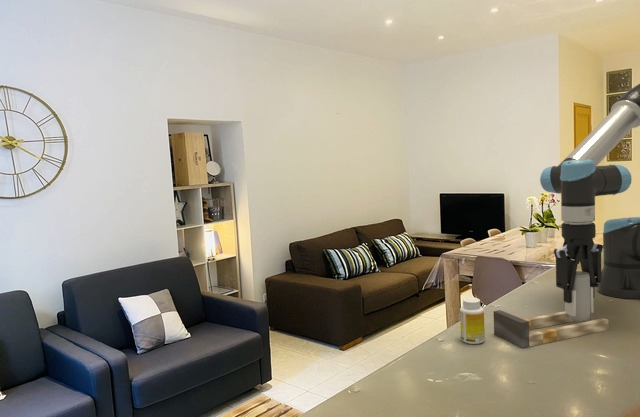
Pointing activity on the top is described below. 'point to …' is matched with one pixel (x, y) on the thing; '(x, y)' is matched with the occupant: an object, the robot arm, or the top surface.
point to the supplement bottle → (472, 321)
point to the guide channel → (519, 328)
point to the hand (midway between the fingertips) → (579, 312)
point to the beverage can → (582, 297)
